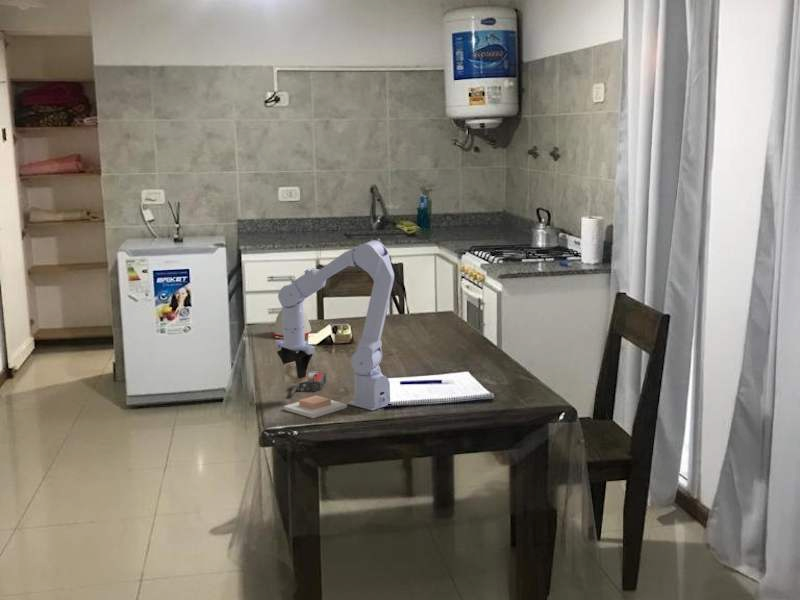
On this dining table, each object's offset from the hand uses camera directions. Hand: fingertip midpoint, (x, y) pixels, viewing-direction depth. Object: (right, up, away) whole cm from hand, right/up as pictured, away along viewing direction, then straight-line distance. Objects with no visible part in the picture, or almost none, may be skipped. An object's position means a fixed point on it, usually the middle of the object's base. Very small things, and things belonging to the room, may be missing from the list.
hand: (296, 376), depth 256 cm
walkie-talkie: (+2, -5, +14) cm, 15 cm away
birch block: (0, -1, 0) cm, 2 cm away
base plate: (+6, -8, -7) cm, 12 cm away
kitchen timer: (-11, +8, +88) cm, 89 cm away
